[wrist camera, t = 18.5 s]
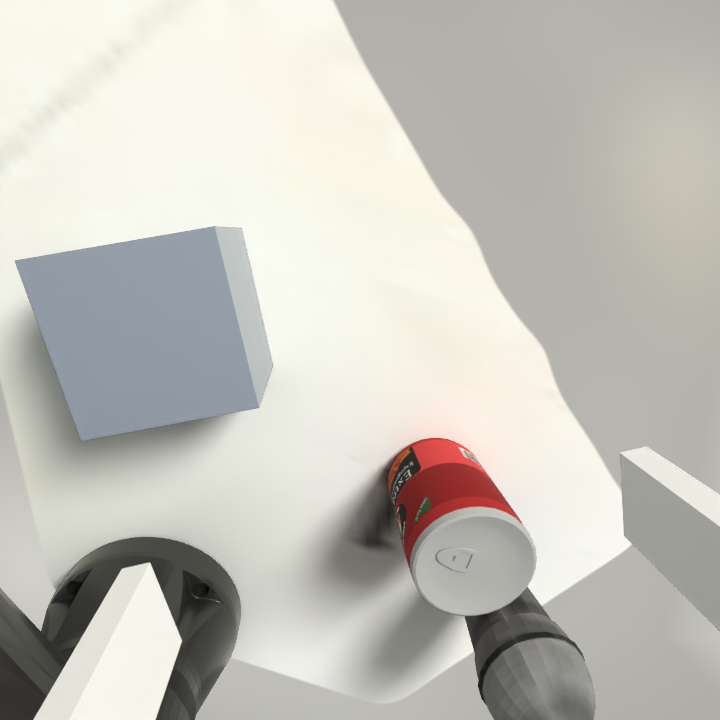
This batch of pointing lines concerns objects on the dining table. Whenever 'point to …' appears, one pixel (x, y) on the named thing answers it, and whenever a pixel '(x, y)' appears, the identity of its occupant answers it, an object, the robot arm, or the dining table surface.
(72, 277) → the slate blue cube
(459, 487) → the canned food
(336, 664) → the dining table surface
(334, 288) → the dining table surface
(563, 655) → the beverage cup
